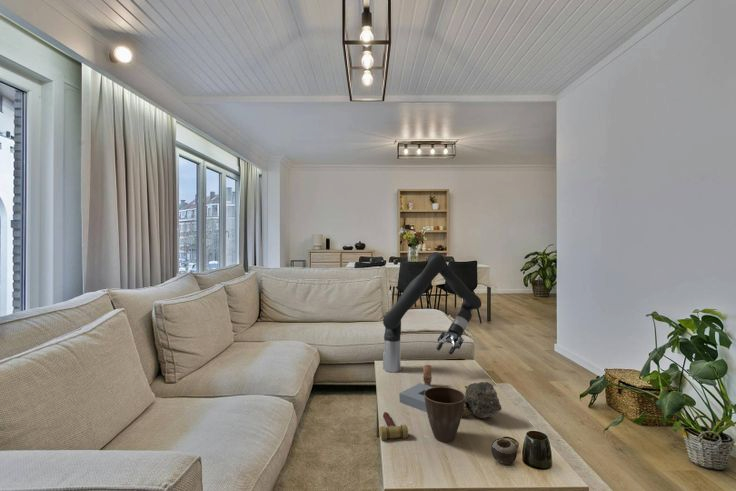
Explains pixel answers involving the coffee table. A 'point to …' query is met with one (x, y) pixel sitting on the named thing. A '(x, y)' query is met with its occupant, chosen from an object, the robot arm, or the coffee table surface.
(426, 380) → the cherry peg
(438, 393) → the plant pot
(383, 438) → the gavel
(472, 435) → the coffee table surface
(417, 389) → the slate socket board
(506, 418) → the coffee table surface
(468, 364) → the coffee table surface
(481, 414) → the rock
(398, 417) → the coffee table surface
